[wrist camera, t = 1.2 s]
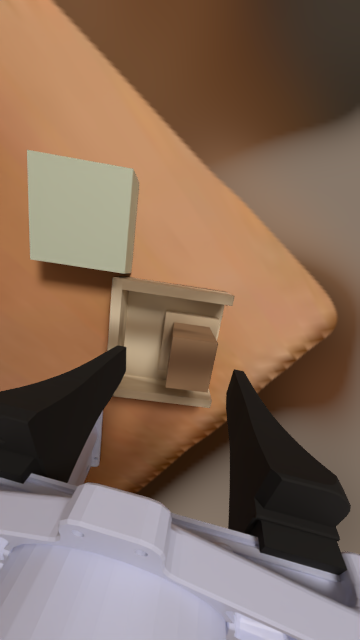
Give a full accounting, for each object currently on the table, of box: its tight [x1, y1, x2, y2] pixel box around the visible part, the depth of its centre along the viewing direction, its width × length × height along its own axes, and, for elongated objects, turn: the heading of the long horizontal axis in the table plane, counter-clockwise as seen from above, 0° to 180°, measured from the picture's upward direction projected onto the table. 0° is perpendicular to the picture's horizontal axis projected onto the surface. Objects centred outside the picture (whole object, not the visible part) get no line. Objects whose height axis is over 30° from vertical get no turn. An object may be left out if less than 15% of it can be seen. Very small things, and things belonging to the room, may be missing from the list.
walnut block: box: [166, 322, 218, 393], centre depth 21 cm, size 5×4×5 cm
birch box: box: [108, 276, 234, 408], centre depth 23 cm, size 13×12×4 cm
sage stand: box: [27, 150, 139, 274], centre depth 20 cm, size 9×9×3 cm
